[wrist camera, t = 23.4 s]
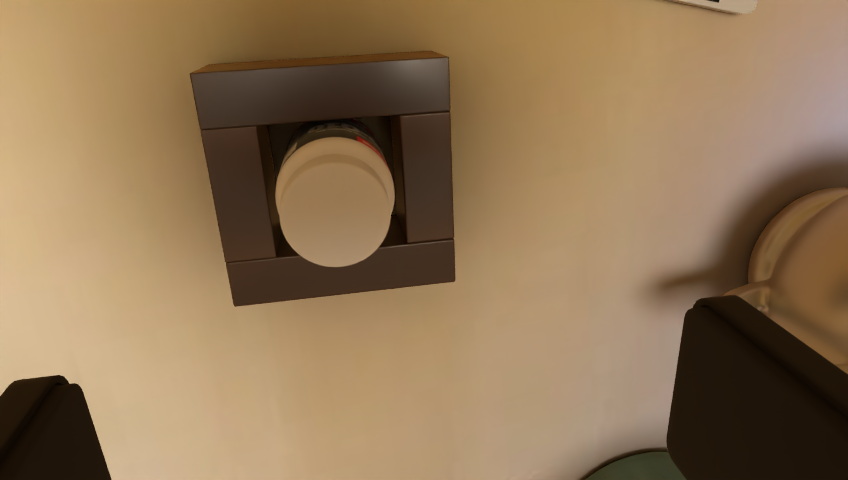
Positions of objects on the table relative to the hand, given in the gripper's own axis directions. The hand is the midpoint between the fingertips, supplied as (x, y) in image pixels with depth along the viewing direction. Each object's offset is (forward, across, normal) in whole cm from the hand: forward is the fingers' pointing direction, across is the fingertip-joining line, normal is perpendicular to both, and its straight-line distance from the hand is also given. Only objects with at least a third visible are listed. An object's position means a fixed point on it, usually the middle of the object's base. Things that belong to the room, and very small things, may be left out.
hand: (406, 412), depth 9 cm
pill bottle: (+21, +1, +1) cm, 21 cm away
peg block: (+21, +1, +2) cm, 21 cm away
